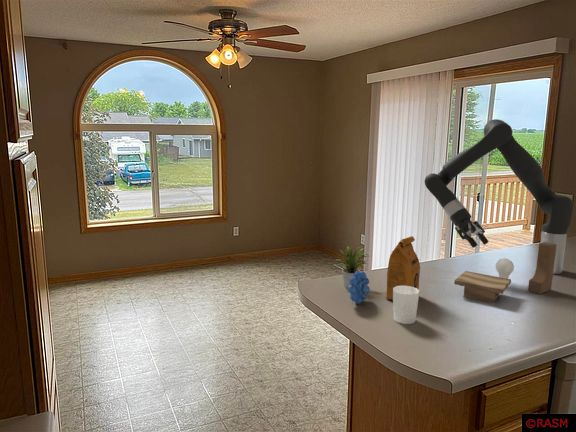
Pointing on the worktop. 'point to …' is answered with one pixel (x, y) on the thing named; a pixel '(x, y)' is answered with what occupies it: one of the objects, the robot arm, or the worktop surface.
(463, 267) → the worktop surface
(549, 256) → the wooden block
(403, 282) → the coffee package
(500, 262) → the lightbulb
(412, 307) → the white cup
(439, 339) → the worktop surface
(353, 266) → the house plant
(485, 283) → the stand
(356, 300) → the grapes
